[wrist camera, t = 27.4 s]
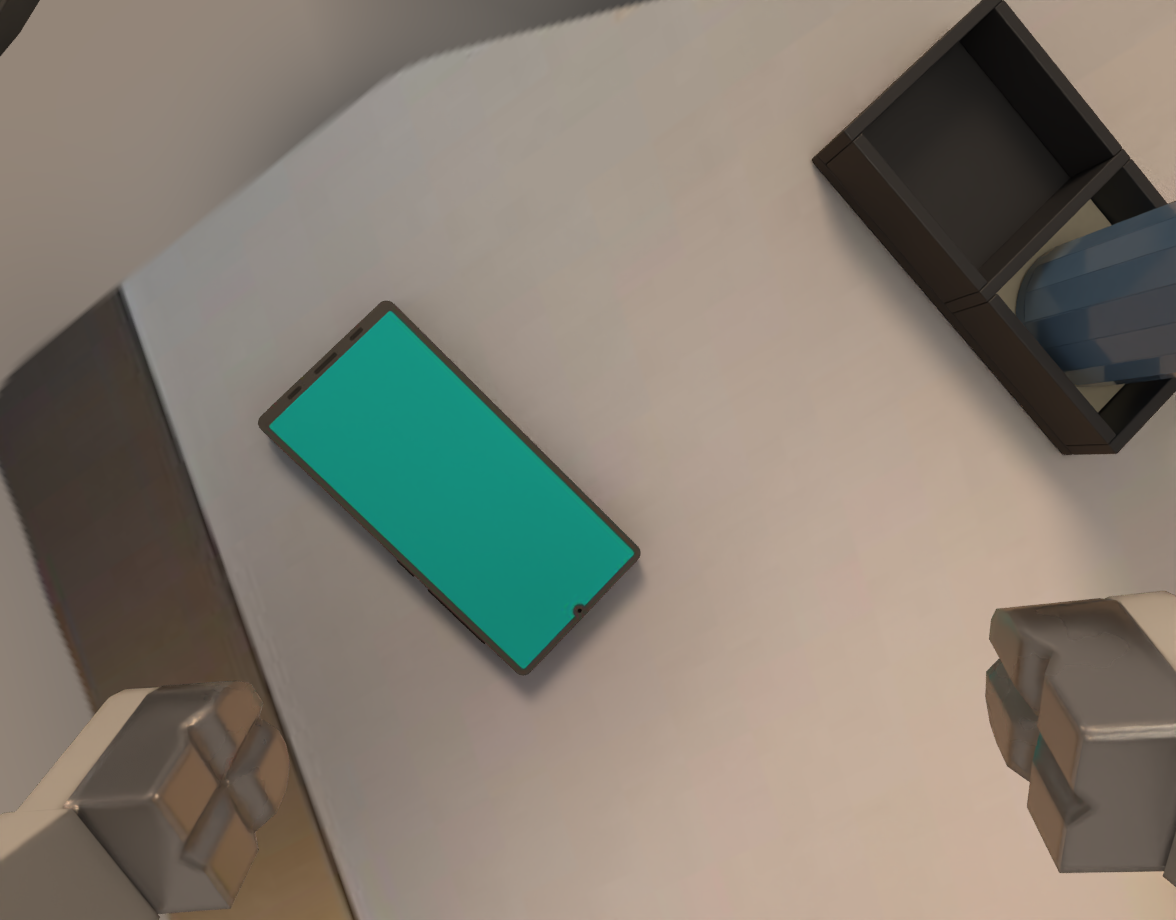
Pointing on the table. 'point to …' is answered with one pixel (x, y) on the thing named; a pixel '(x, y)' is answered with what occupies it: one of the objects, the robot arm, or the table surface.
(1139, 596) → the robot arm
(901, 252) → the tray
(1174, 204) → the blue cup
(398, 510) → the smartphone
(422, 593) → the table surface
